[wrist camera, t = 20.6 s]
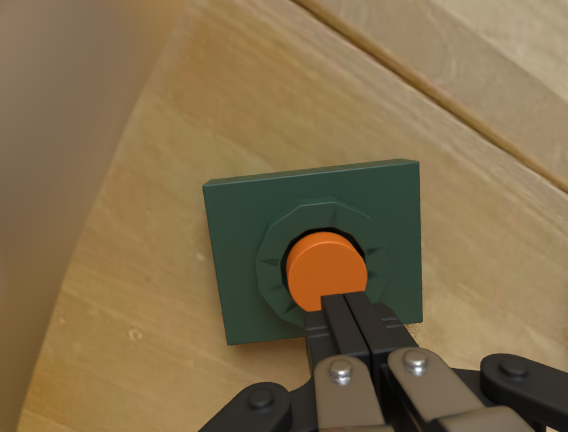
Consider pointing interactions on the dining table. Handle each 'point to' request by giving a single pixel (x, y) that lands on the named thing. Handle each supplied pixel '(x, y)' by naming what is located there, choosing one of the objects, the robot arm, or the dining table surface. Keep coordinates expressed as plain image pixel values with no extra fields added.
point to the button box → (304, 221)
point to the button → (323, 269)
